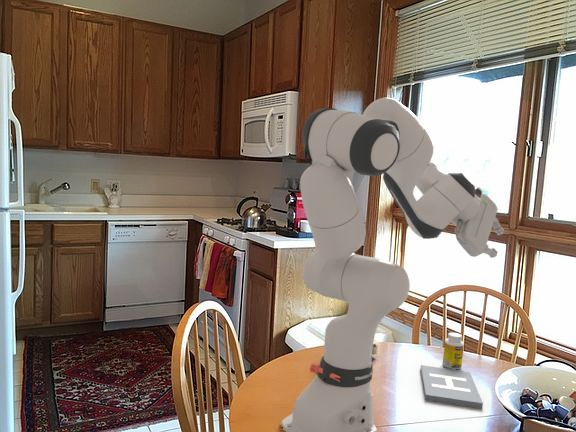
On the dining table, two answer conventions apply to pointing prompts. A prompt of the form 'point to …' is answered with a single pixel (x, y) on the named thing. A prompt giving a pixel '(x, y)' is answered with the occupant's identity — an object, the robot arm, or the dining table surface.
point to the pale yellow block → (374, 350)
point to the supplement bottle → (453, 351)
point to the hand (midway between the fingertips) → (498, 243)
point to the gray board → (450, 387)
